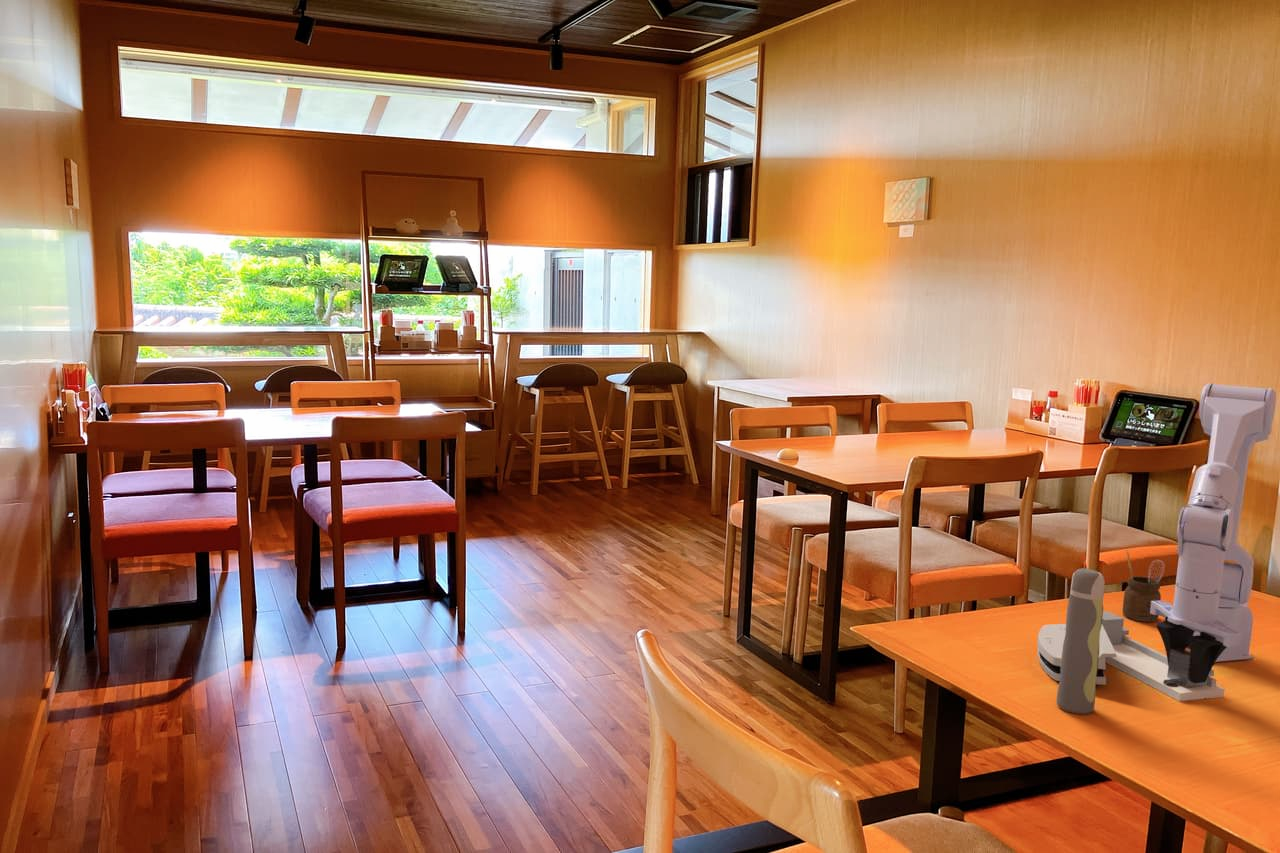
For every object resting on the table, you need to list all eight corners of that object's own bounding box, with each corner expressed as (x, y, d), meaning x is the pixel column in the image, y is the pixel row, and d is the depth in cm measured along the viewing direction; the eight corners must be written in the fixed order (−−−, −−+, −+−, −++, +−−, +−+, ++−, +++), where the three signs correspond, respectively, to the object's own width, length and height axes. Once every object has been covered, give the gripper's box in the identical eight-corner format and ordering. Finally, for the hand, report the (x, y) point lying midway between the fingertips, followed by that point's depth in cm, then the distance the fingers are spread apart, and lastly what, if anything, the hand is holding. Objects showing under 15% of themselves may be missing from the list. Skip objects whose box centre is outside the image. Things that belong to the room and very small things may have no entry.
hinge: (1116, 654, 144) (1042, 653, 147) (1117, 685, 144) (1044, 683, 147) (1098, 616, 160) (1032, 615, 162) (1099, 644, 160) (1033, 643, 163)
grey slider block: (1156, 678, 147) (1160, 644, 146) (1196, 674, 149) (1200, 641, 148) (1175, 688, 143) (1179, 653, 142) (1216, 684, 145) (1220, 650, 144)
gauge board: (1074, 645, 163) (1077, 613, 162) (1114, 642, 165) (1118, 610, 165) (1179, 701, 142) (1183, 664, 142) (1223, 696, 144) (1228, 660, 144)
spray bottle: (1100, 710, 138) (1115, 572, 135) (1082, 718, 135) (1098, 578, 132) (1066, 698, 142) (1080, 563, 139) (1049, 706, 139) (1063, 569, 136)
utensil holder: (1160, 625, 175) (1168, 559, 173) (1121, 619, 177) (1128, 554, 175) (1156, 615, 180) (1163, 551, 179) (1118, 609, 183) (1125, 546, 181)
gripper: (1137, 574, 150) (1128, 659, 152) (1216, 605, 136) (1204, 698, 138) (1175, 572, 152) (1165, 656, 154) (1257, 602, 138) (1245, 694, 140)
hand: (1186, 676), depth 146 cm, fingers closed on grey slider block, 3 cm apart
